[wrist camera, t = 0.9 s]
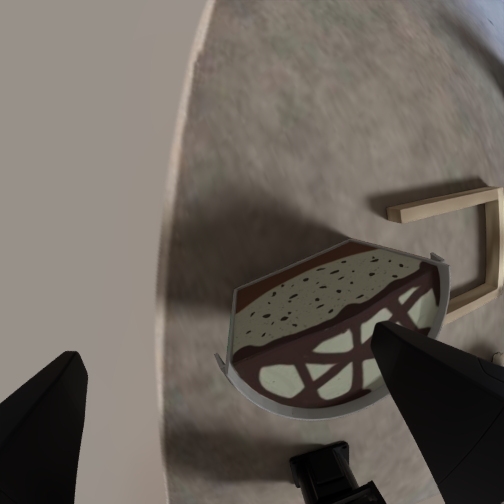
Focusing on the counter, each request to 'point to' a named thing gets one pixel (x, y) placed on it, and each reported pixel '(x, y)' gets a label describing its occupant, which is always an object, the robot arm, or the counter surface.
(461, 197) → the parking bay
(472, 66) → the counter surface
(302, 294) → the food container
